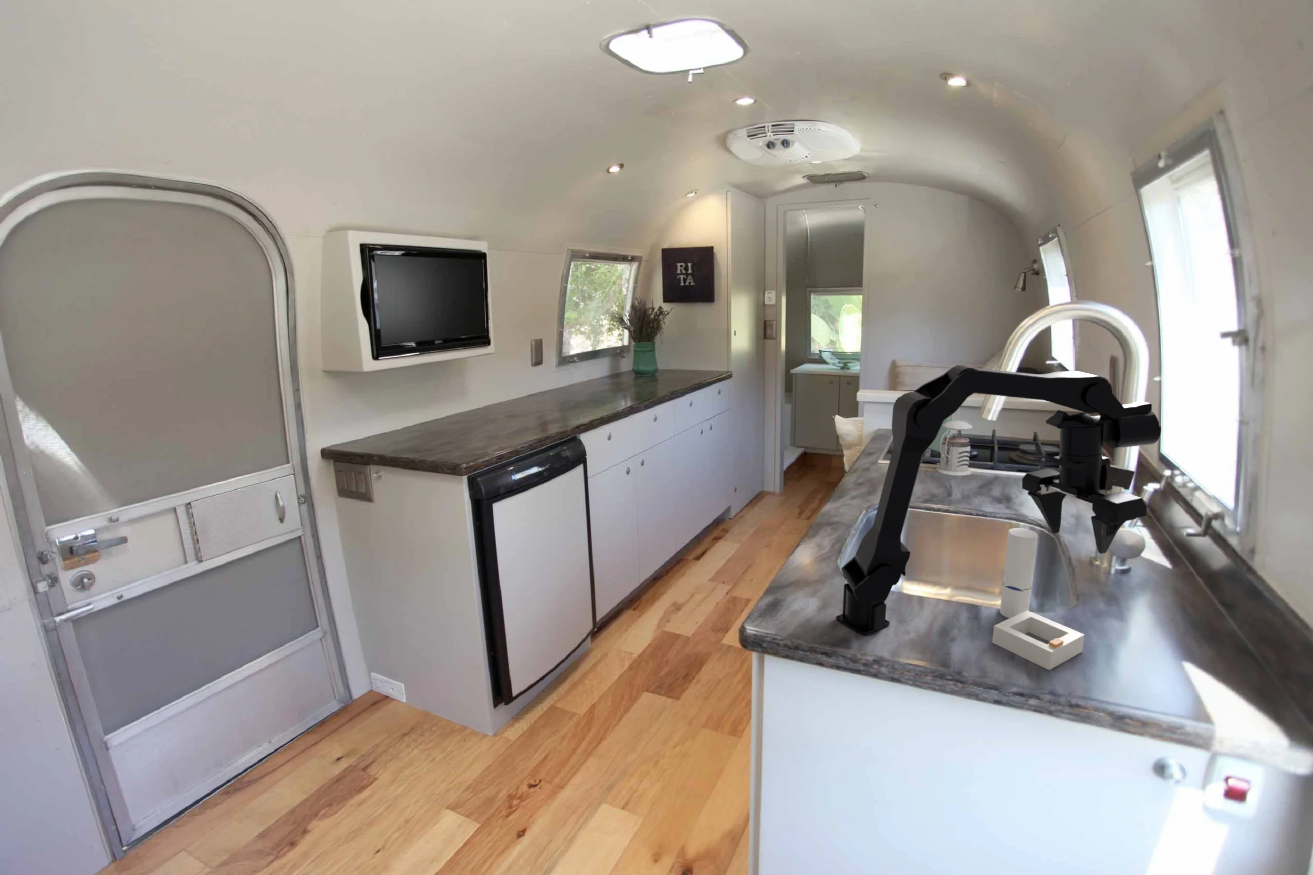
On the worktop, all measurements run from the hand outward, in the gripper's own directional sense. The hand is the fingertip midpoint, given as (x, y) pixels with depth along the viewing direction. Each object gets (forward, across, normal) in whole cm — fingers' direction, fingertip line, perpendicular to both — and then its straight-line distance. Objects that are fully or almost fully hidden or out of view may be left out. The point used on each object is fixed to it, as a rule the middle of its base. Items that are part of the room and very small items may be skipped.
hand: (1078, 542), depth 107 cm
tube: (+14, +5, +8) cm, 17 cm away
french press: (+16, +81, -35) cm, 90 cm away
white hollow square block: (+13, -5, +12) cm, 19 cm away
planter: (+17, +107, -48) cm, 118 cm away
